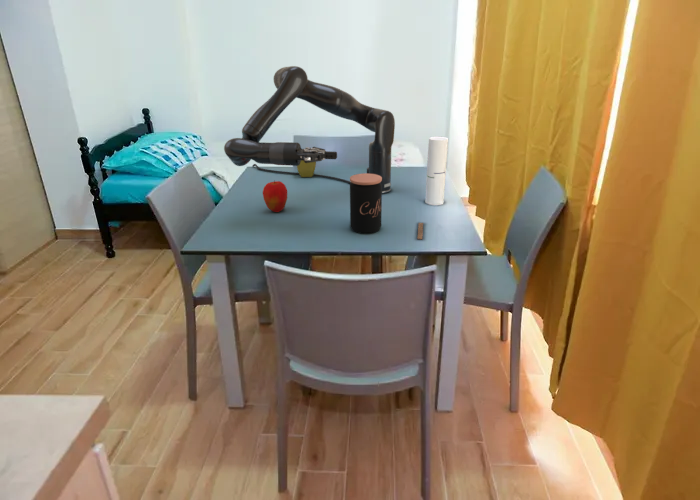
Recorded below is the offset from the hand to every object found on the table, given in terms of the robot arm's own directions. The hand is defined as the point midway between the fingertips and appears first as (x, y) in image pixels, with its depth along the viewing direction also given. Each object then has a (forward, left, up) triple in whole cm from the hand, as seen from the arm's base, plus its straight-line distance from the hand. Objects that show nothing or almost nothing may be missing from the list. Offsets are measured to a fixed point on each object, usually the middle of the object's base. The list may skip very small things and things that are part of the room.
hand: (336, 155), depth 159 cm
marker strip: (+25, +13, -25) cm, 38 cm away
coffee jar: (+8, +5, -25) cm, 27 cm away
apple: (-30, 0, -25) cm, 39 cm away
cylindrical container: (+14, +43, -25) cm, 52 cm away
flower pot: (-52, +42, -25) cm, 71 cm away
